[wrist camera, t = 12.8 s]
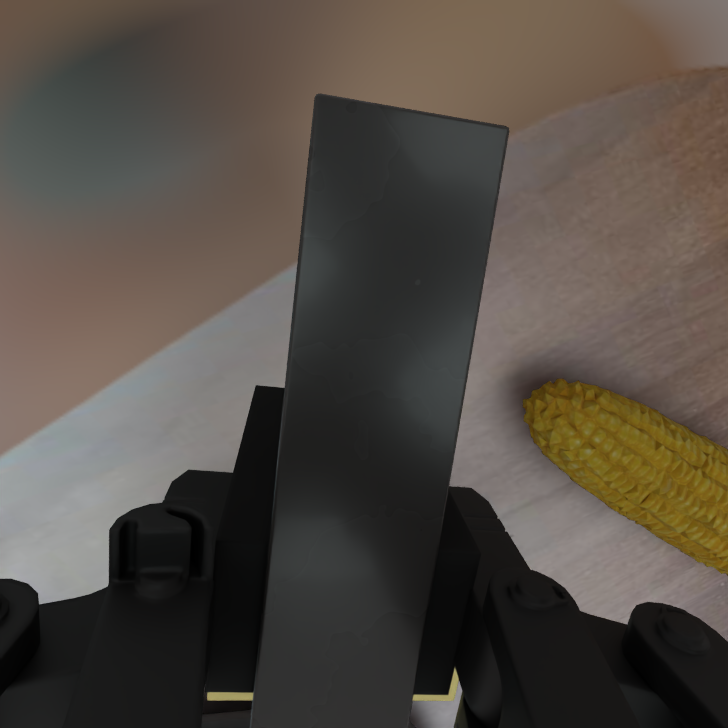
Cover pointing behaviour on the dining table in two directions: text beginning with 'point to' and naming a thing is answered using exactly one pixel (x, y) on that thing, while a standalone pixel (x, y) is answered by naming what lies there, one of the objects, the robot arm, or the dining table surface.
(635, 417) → the food
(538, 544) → the dining table surface
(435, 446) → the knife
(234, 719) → the casserole
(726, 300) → the dining table surface
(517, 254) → the dining table surface
